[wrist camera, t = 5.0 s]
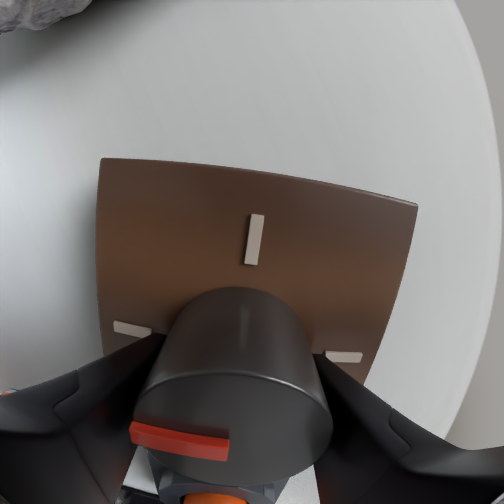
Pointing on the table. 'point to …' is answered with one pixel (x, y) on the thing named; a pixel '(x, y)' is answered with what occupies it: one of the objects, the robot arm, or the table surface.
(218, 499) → the button
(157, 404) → the knob
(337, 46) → the table surface
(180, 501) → the button box
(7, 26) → the rock
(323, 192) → the panel
